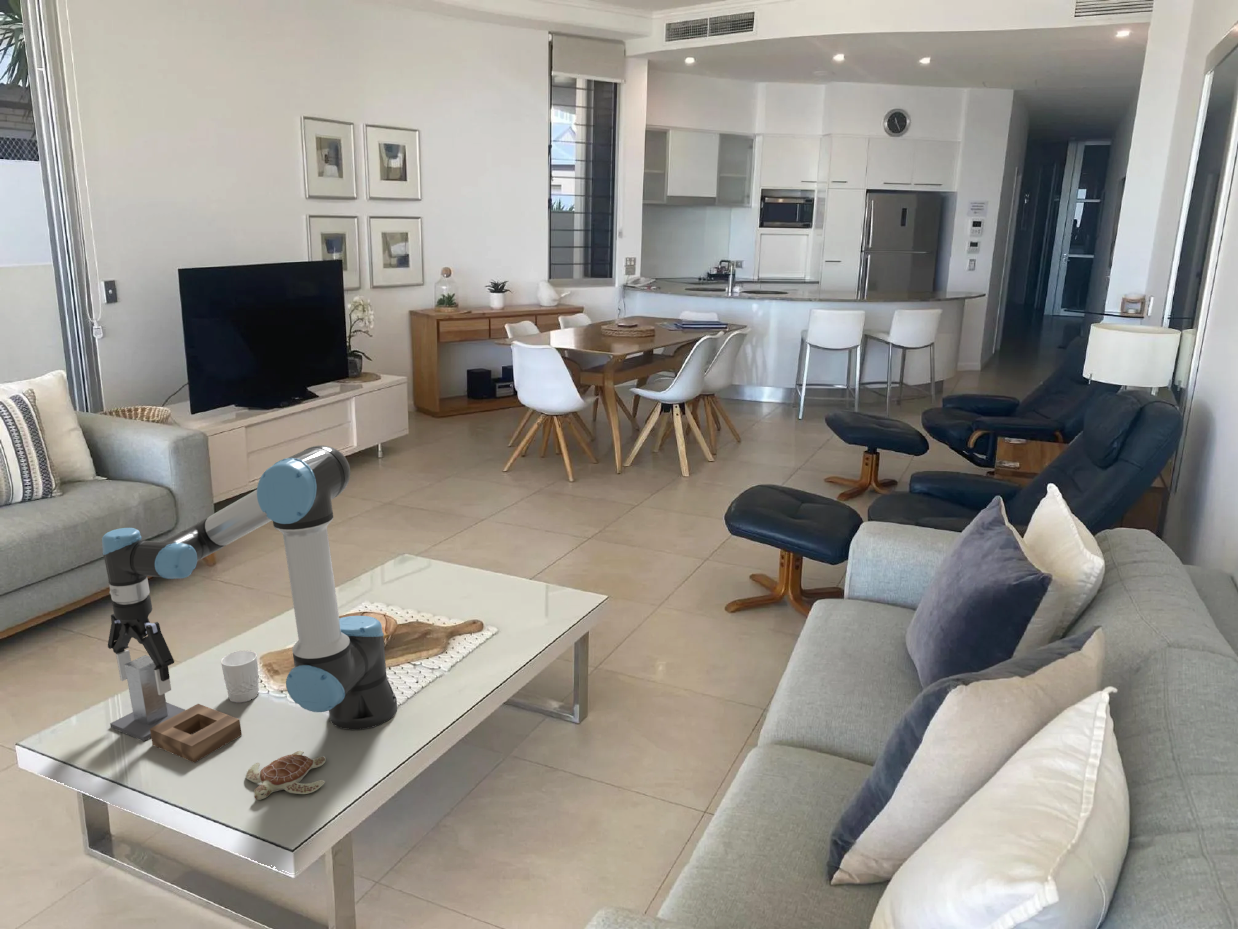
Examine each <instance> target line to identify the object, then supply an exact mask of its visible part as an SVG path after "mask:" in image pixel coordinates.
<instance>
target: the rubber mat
mask: <svg viewBox="0 0 1238 929" xmlns="http://www.w3.org/2000/svg"><path fill="white" fill-rule="evenodd" d="M166 705H167V711H168V716H166V717H164V718H162V719H160V720H158V721H156V722H154V723H152V724H151V725H149V726H147V725H145V724H142V723H140V722H138V721H135V720H134V716H133V711H132V712H130V713H128V714H126V715H124V716H122V717H120V718H118V719H115V720H114V721H112V722H110V723H109V724H110V726H109V727H110V728H111V729H114V730H115V731H118V732H121V733H124V734H125V735H128V736H130V737H131V738H135V739H137V740H140V741H142V742H146V741H148V740H149V739H151V733H150V728H152V727H154V726H156V725H158V724H160V723H162V722H164V721H166V720H168V719H170V718H172V717H173V716H175V715H177V714H179V713H181V712H183V711H185V710H186V709H185V708H182V707H179V706H177V705H175V704H173V703H172V704H171V703H169V702H167V701H166ZM145 740H146V741H145Z"/></svg>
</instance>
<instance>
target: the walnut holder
mask: <svg viewBox="0 0 1238 929" xmlns="http://www.w3.org/2000/svg"><path fill="white" fill-rule="evenodd" d="M150 733H151V738H150V739H151V744H152V746H154V747H156V748H158V749H161V750H164V751H165V750H166V751H165V752H168V753H170V754H172V753H173V754H172V755H175V756H178V757H179V756H180V758H182V759H184V760H187V761H188V762H191V763H194V764H195V763H196V762H199V761H200V760H202V759H203V758H206V757H207V756H209V755H210V754H212V753H214V752H215V751H218V750H219V749H222V747H224V746H226V745H228V744H229V743H231V742H233V741H235V740H236V739H238V738H240V737H241V736H243V734H242V727H241V719H240V718H237V717H234V716H233V715H232V716H231V715H229V714H226V713H224V712H221V711H219V710H216V709H213V708H211V707H208V706H206V705H203V704H200V703H197V704H194V705H193V706H191V707H189V708H187V709H185V711H183V712H181V713H179V714H177V715H175V716H173V717H172V718H170V719H168V720H166V721H164V722H162V723H160V724H158V725H156V726H154V727H152V728H150Z"/></svg>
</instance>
